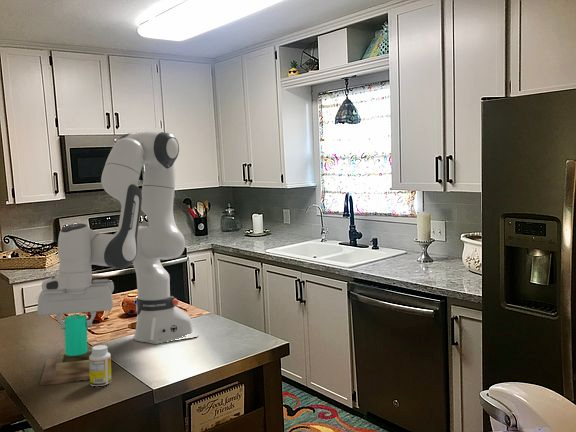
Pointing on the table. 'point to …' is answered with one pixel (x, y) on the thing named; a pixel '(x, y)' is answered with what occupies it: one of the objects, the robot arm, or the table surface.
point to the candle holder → (66, 369)
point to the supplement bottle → (100, 366)
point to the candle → (75, 335)
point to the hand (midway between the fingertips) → (76, 327)
